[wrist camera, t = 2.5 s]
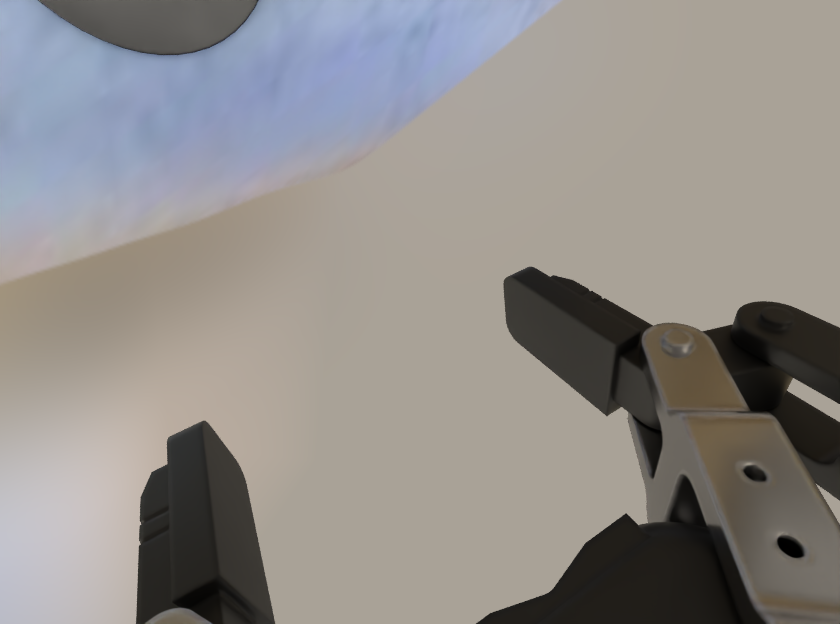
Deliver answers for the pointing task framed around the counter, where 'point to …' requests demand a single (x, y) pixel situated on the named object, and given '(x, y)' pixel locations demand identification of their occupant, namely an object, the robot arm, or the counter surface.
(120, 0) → the lid
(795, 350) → the robot arm
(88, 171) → the counter surface
